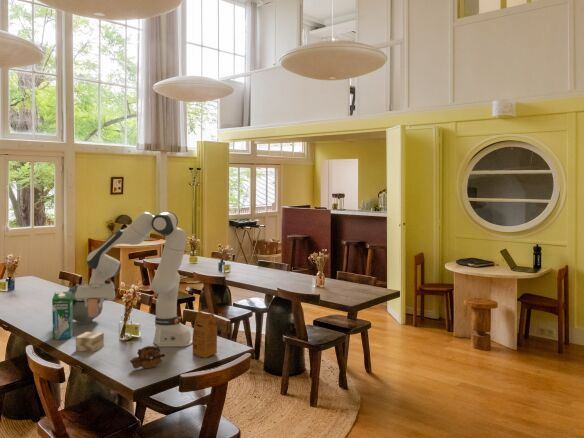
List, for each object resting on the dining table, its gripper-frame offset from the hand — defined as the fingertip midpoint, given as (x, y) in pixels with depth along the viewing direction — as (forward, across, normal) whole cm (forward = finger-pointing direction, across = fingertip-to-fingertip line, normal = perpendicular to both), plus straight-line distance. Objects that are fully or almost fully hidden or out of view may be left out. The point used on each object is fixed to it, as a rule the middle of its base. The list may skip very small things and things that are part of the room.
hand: (92, 306), depth 265 cm
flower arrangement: (-18, -18, +50) cm, 56 cm away
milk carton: (+2, -21, +29) cm, 36 cm away
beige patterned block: (+17, -1, +14) cm, 22 cm away
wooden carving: (+38, +35, -8) cm, 52 cm away
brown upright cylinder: (+3, 0, +4) cm, 5 cm away
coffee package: (+26, +60, +4) cm, 65 cm away
